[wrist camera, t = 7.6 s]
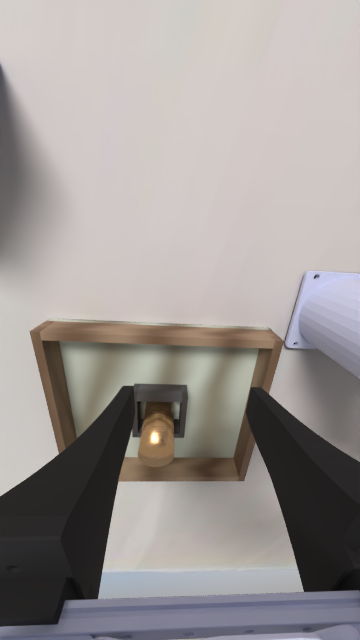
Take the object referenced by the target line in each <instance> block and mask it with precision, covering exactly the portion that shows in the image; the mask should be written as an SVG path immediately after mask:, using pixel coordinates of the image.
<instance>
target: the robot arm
mask: <svg viewBox="0 0 360 640" xmlns="http://www.w3.org/2000/svg"><path fill="white" fill-rule="evenodd" d="M315 275H317V277H316V278H315V279H314V276H315ZM295 342H296V344H294V343H295ZM293 344H294V345H293ZM285 345H286V346H287V347H288V348H303V349H319V350H320V351H322V352H323V353H324V354H326V355H327V356H328V357H330V358H331V359H333V360H334V361H335V362H337V363H338V364H339V365H341V366H342V367H343V368H345V369H346V370H348V371H349V372H350V373H352V374H353V375H354V376H356V377H357V378H358V379H360V274H359V273H342V272H325V271H308V272H306V273H305V275H304V277H303V281H302V284H301V288H300V291H299V295H298V298H297V302H296V305H295V309H294V312H293V316H292V319H291V323H290V326H289V330H288V333H287V337H286V340H285ZM134 416H135V400H134V386H123V387H122V388H121V389H120V390H119V392H118V393H117V394H116V396H115V397H114V398H113V400H112V401H111V402H110V403H109V405H108V406H107V407H106V408H105V409H104V411H103V412H102V413H101V414H100V415H99V416H98V417H97V419H96V420H95V421H94V422H93V423H92V424H91V425H90V426H89V427H88V428H87V429H86V430H85V431H84V432H83V433H82V434H81V435H80V436H79V437H78V438H77V439H76V440H75V441H74V442H73V443H71V444H70V445H69V446H68V447H67V448H66V449H65V450H63V451H62V452H61V453H60V454H59V455H57V456H56V457H55V458H54V459H53V460H51V461H50V462H49V463H47V464H46V465H45V466H43V467H42V468H41V469H39V470H38V471H37V472H36V473H34V474H33V475H31V476H30V477H29V478H27V479H26V480H24V481H23V482H21V483H20V484H18V485H17V486H15V487H14V488H12V489H11V490H9V491H8V492H6V493H5V494H3V495H2V496H0V640H168V639H169V640H170V639H190V638H191V639H193V638H206V639H203V640H360V462H359V461H357V460H355V459H354V458H352V457H350V456H349V455H347V454H346V453H344V452H342V451H341V450H339V449H338V448H336V447H335V446H333V445H332V444H330V443H329V442H327V441H326V440H324V439H323V438H321V437H320V436H319V435H317V434H316V433H314V432H313V431H312V430H310V429H309V428H308V427H306V426H305V425H304V424H303V423H301V422H300V421H299V420H298V419H296V418H295V417H294V416H293V415H292V414H290V413H289V412H288V411H287V410H286V409H285V408H284V407H282V406H281V405H280V404H279V403H278V402H277V401H276V400H275V399H273V398H272V397H271V396H270V395H269V394H268V393H267V392H266V391H265V390H263V389H262V388H261V387H251V389H250V394H249V398H248V403H247V408H246V416H247V419H248V423H249V426H250V429H251V432H252V434H253V436H254V439H255V441H256V443H257V446H258V448H259V450H260V453H261V455H262V457H263V460H264V462H265V464H266V467H267V469H268V472H269V474H270V477H271V480H272V483H273V486H274V489H275V492H276V495H277V498H278V501H279V504H280V507H281V510H282V514H283V517H284V520H285V523H286V527H287V530H288V534H289V537H290V541H291V544H292V548H293V551H294V555H295V559H296V563H297V566H298V570H299V574H300V578H301V582H302V585H303V589H304V592H296V593H267V594H241V595H240V594H238V595H209V596H180V597H179V596H178V597H149V598H120V599H98V593H99V588H100V581H101V575H102V569H103V563H104V557H105V551H106V545H107V539H108V534H109V528H110V522H111V517H112V511H113V506H114V500H115V495H116V490H117V485H118V480H119V476H120V471H121V468H122V464H123V461H124V457H125V453H126V450H127V446H128V443H129V439H130V435H131V432H132V428H133V422H134Z"/></svg>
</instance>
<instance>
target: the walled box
mask: <svg viewBox="0 0 360 640" xmlns="http://www.w3.org/2000/svg"><path fill="white" fill-rule="evenodd" d="M30 335H31V339H32V343H33V347H34V351H35V356H36V360H37V364H38V368H39V372H40V376H41V381H42V385H43V389H44V393H45V397H46V401H47V406H48V410H49V414H50V418H51V422H52V426H53V431H54V435H55V439H56V443H57V447H58V451H59V454H60V453H61V452H62V451H63V450H65V449H66V448H67V447H68V446H69V445H70V444H71V443H73V442H74V441H75V440H76V439H77V438H78V437H79V436H80V435H81V434H82V433H83V432H84V431H85V430H86V429H87V428H88V427H89V426H90V425H91V424H92V423H93V422H94V421H95V420H96V419H97V417H98V416H99V415H100V414H101V413H102V412H103V411H104V409H105V408H106V407H107V406H108V405H109V403H110V402H111V401H112V400H113V398H114V397H115V396H116V394H117V393H118V392H119V390H120V389H121V388H122V387H123V386H134V400H135V416H134V422H133V428H132V432H131V435H130V439H129V443H128V446H127V450H126V453H125V457H124V461H123V464H122V468H121V471H120V476H119V480H118V481H244V479H245V476H246V472H247V469H248V465H249V462H250V458H251V455H252V451H253V448H254V444H255V439H254V436H253V434H252V432H251V429H250V426H249V423H248V419H247V416H246V408H247V403H248V398H249V394H250V389H251V387H261V388H262V389H263V390H265V391H266V392H267V393H268V394H269V391H270V388H271V384H272V381H273V377H274V374H275V370H276V367H277V363H278V360H279V356H280V353H281V349H282V346H283V342H284V341H283V340H282V339H281V338H280V337H279V336H277V335H276V334H275V333H274V332H273V331H272V330H271V329H270V328H264V327H240V326H216V325H192V324H169V323H145V322H121V321H97V320H73V319H49V320H47V321H46V322H44V323H42V324H41V325H39V326H38V327H36V328H34V329H33V330H31V331H30ZM146 402H174V458H173V460H172V461H171V462H170V463H169V464H167V465H165V466H161V467H151V466H147V465H145V464H143V463H142V462H141V461H140V460H139V458H138V450H139V444H140V438H141V432H142V426H143V420H144V413H145V407H146Z"/></svg>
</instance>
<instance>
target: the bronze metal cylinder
mask: <svg viewBox="0 0 360 640" xmlns="http://www.w3.org/2000/svg"><path fill="white" fill-rule="evenodd" d="M138 458H139V460H140V461H141V462H142V463H143V464H145V465H147V466H151V467H161V466H165V465H167V464H169V463H170V462H171V461H172V460H173V458H174V402H146V407H145V413H144V420H143V426H142V432H141V438H140V444H139V450H138Z"/></svg>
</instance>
